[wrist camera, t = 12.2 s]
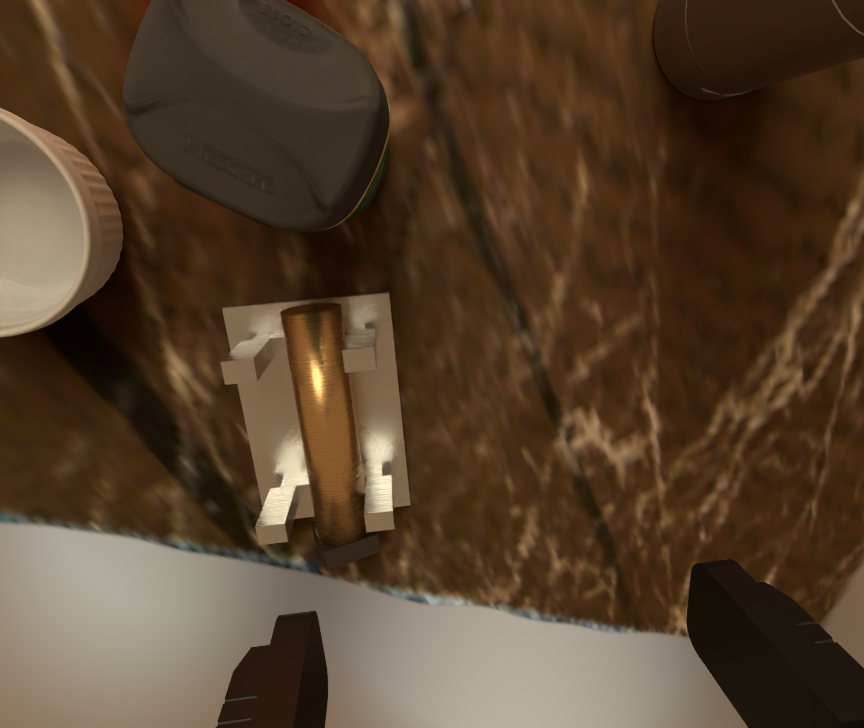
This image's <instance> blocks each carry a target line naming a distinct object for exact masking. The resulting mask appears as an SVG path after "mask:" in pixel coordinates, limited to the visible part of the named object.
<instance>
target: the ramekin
mask: <svg viewBox="0 0 864 728" xmlns="http://www.w3.org/2000/svg"><path fill="white" fill-rule="evenodd" d="M122 241H123V224H122V221H121V213H120V211H119V208H118V203H117V201H116V200H115V198H114V196H113V192H112V190H111V189H110V188H109V187H108V185H107V182H106V179H105V178H104V177H103V176H102V175H101V174H100V173H99V171H98V169H97V168H96V167H95V166H94V165H92V164H91V162H90V161H89V159H88V158H87V157H86V156H85V155H83V154H81V153H80V152H79V151H78V150H77V149H76V148H75V147H74V146H72V145H70V144H68V143H66V142H65V141H64V140H63V139H61V138H59V137H57V136H55V135H53V134H51V133H49V132H48V131H46V130H44V129H41V128H39V127H37V126H35V125H32V124H30V123H28V122H26V121H25V120H23V119H21V118H20V117H18V116H16V115H14V114H12V113H10V112H8V111H6V110H4V109H1V108H0V338H1V337H9V336H15V335H20V334H24V333H27V332H31V331H34V330H38V329H40V328H43V327H45V326H48V325H50V324H52V323H54V322H55V321H57V320H59V319H61V318H62V317H63V316H65V315H66V314H67V313H69V312H70V311H71V310H72V309H73V308H74V307H75V306H76V305H78V304H79V303H81V302H83V301H84V300H86V299H87V298H89V297H91V296H92V295H93V294H95V293H96V292H97V291H98V290H99V289H101V288H102V287H103V286H104V284H105V282H106V281H107V280H109V278H110V276H111V273H112V272H114V271H115V269H116V264H117V262H118V261H119V259H120V252H121V250H122Z"/></svg>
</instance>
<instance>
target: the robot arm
mask: <svg viewBox="0 0 864 728" xmlns="http://www.w3.org/2000/svg"><path fill="white" fill-rule="evenodd" d="M654 44H655V53H656V56H657V59H658V62H659V65H660V67H661V69H662V71H663V72H664V74H665V76H666V78H667V79H668V80H669V81H670V82H671V83H672V85H673V86H674V87H675V88H676V89H678V90H679V91H681V92H682V93H684V94H686V95H687V96H690V97H693V98H696V99H699V100H718V99H723V98H728V97H731V96H736V95H739V94H740V95H741V94H744V93H747V92H750V91H753V90H755V89H759V88H762V87H766V86H769V85H773V84H776V83H779V82H783V81H786V80H790V79H793V78H796V77H800V76H803V75H807V74H810V73H813V72H817V71H820V70H824V69H827V68H830V67H834V66H837V65H841V64H844V63H847V62H851V61H854V60H857V59H861V58H864V0H660V1H659V3H658V7H657V12H656V16H655V20H654ZM687 630H688V634H689V637H690V640H691V642H692V645H693V647H694V649H695V651H696V652H697V654H698V655H699V657H700V658H701V660H702V661H703V663H704V664H705V665H706V667H707V669H708V670H709V671H710V673H711V674H712V676H713V677H714V679H715V680H716V682H717V683H718V685H719V686H720V687H721V689H722V690H723V692H724V693H725V695H726V696H727V697H728V699H729V700H730V702H731V703H732V705H733V706H734V708H735V709H736V711H737V712H738V713H739V715H740V716H741V718H742V719H743V721H744V722H745V723H746V725H747V727H748V728H864V668H863V667H862V666H861V665H860V664H859V663H857V661H856V660H854V659H853V658H852V657H851V656H850V655H849V654H848V653H847V652H846V651H845V650H844V649H843V648H842V647H841V646H840V645H839V644H838V643H837V642H836V643H834V641H833V640H832V637H831V636H830V635H829V634H828V633H827V632H826V631H825V630H824V629H823V628H822V627H821V626H820V625H819V624H815V622H814V619H813V618H812V617H811V616H810V615H809V614H808V613H806V612H805V611H804V610H803V609H802V608H801V607H800V606H799V605H798V604H797V603H796V602H795V601H794V600H793V599H792V598H790V597H789V596H787V595H785V594H784V593H782V592H780V591H779V590H777V589H775V588H774V587H772V586H771V585H769V584H767V583H766V582H759V583H757V582H756V581H755V580H754V579H753V578H752V577H751V576H750V575H749V574H748V573H747V572H746V571H745V570H744V569H743V568H742V567H741V566H740V565H739V564H738V563H737V562H735V561H733V560H730V559H728V560H720V561H712V562H704V563H697V564H695V565H693V567H692V570H691V578H690V588H689V599H688V609H687ZM327 701H328V674H327V666H326V660H325V654H324V649H323V643H322V637H321V632H320V626H319V621H318V616H317V613H316V611H310V612H302V613H295V614H286V615H279V616H278V618H277V620H276V623H275V627H274V631H273V635H272V639H271V643H270V645H266V646H258V647H251V649H250V650H249V651H248V653H247V654H246V655H245V657H244V658H243V659H242V661H241V662H240V663H239V665H238V666H237V667H236V669H235V670H234V672H233V675H232V678H231V681H230V684H229V687H228V690H227V693H226V697H225V704H223V706H222V709H221V712H220V716H219V719H218V726H217V727H216V728H325V720H326V711H327Z"/></svg>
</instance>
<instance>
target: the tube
mask: <svg viewBox="0 0 864 728" xmlns="http://www.w3.org/2000/svg"><path fill="white" fill-rule="evenodd" d="M280 315H281V321H282V327H283V333H284V338H285V344H286V350H287V356H288V362H289V368H290V374H291V380H292V386H293V392H294V398H295V403H296V409H297V415H298V421H299V427H300V433H301V439H302V445H303V451H304V457H305V463H306V469H307V474H308V480H309V486H310V492H311V498H312V504H313V510H314V516H315V522H313V523H312V526H313V532H314V538H315V541H316V544H317V547H318V549H319V552H320V554H321V557H322V559H323V562H324V564H325V567H326V569H327V571H328V570H331V569H333V568H336V567H339V566H342V565H345V564H348V563H351V562H353V561H356V560H359V559H362V558H365V557H368V556H371V555H374V554H376V553H379V552H380V547H379V539H378V534H377V532H376V531H374V532H366V525H365V518H364V507H365V483H364V476H363V468H362V460H361V453H360V445H359V438H358V430H357V422H356V415H355V407H354V400H353V392H352V384H351V377H350V372H348V373H345V369H344V361H343V354H342V348H343V345H344V341H345V331H344V324H343V316H342V308H341V305H340V304H337V303H313V304H305V305H299V306H294V307H290V308H287V309H285V310H283V311H281V312H280Z"/></svg>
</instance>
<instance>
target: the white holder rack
mask: <svg viewBox="0 0 864 728" xmlns="http://www.w3.org/2000/svg"><path fill="white" fill-rule="evenodd" d="M313 303H337V304H340V305H341V308H342V316H343V324H344V331H345V341H344V345H343V348H342V354H343V361H344V369H345V373H348V372H350V377H351V384H352V392H353V400H354V407H355V415H356V422H357V430H358V438H359V445H360V453H361V460H362V468H363V476H364V483H365V507H364V518H365V525H366V532H374V531H382V530H391V529H395V525H394V507H401V506H410V495H409V485H408V475H407V465H406V455H405V445H404V436H403V426H402V416H401V406H400V396H399V386H398V376H397V366H396V357H395V347H394V337H393V327H392V317H391V307H390V297H389V291H385V292H374V293H363V294H352V295H341V296H330V297H319V298H308V299H297V300H285V301H274V302H263V303H252V304H241V305H230V306H224V307H223V308H222V310H223V315H224V320H225V325H226V330H227V335H228V340H229V345H230V349H231V352H230V353H229V354H228V355H227V356H226V357H225V358H224V359H223V360H222V361H221V367H222V372H223V376H224V381H225V385H227V384H238V389H239V394H240V399H241V403H242V408H243V413H244V418H245V423H246V428H247V433H248V438H249V443H250V448H251V453H252V457H253V462H254V467H255V472H256V477H257V482H258V487H259V492H260V497H261V502H262V507H263V508H262V511H261V514H260V516H259V519H258V521H257V524H256V526H255V528H256V532H257V537H258V542H259V545H264V544H273V543H281V542H288V540H289V537H290V533H291V529H292V526H293V522H294V519H298V518H306V517H315V516H314V510H313V504H312V498H311V492H310V486H309V480H308V474H307V469H306V463H305V457H304V451H303V445H302V439H301V433H300V427H299V421H298V415H297V409H296V403H295V398H294V392H293V386H292V380H291V374H290V368H289V362H288V356H287V350H286V344H285V338H284V333H283V327H282V321H281V315H280V312H281V311H283V310H285V309H287V308H290V307H294V306H299V305H305V304H313Z"/></svg>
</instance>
